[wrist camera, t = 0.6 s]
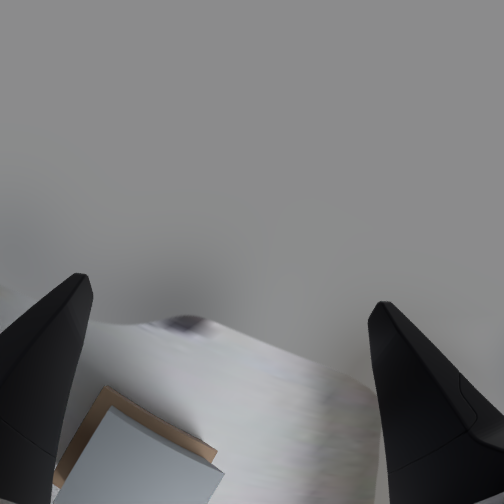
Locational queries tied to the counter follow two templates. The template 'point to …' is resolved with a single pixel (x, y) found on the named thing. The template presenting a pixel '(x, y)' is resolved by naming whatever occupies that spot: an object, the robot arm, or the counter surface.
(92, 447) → the slate slab
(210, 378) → the counter surface
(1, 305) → the counter surface
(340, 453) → the counter surface
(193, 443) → the walnut slab
